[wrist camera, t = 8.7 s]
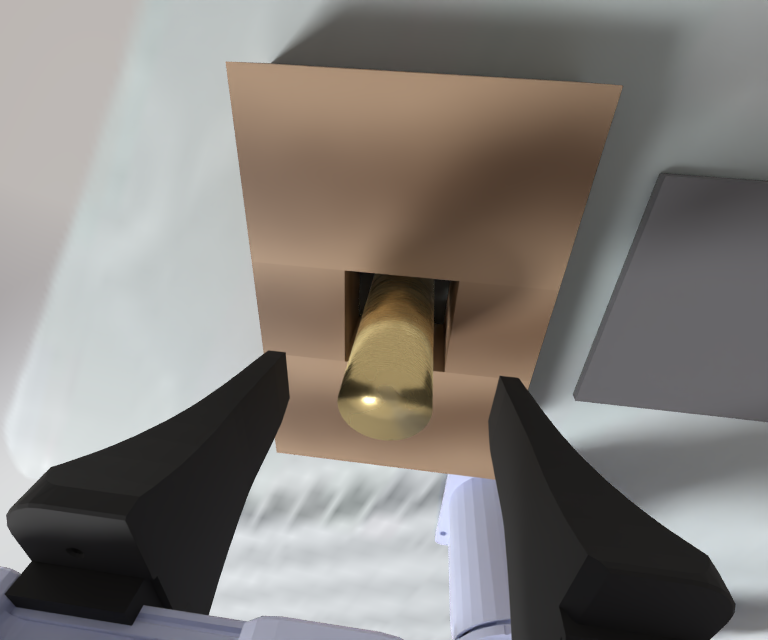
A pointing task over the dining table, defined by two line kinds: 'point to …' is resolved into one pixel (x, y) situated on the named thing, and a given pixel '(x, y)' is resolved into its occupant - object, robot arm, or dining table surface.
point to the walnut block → (410, 232)
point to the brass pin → (391, 360)
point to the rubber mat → (689, 305)
